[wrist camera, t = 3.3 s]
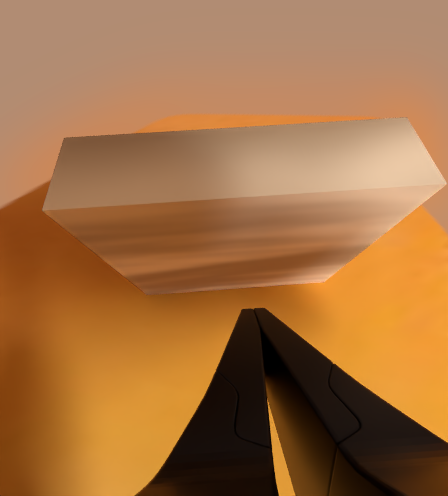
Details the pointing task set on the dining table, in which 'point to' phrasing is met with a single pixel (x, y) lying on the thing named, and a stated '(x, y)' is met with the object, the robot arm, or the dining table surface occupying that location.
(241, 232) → the beige streaked flat block
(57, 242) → the dining table surface
